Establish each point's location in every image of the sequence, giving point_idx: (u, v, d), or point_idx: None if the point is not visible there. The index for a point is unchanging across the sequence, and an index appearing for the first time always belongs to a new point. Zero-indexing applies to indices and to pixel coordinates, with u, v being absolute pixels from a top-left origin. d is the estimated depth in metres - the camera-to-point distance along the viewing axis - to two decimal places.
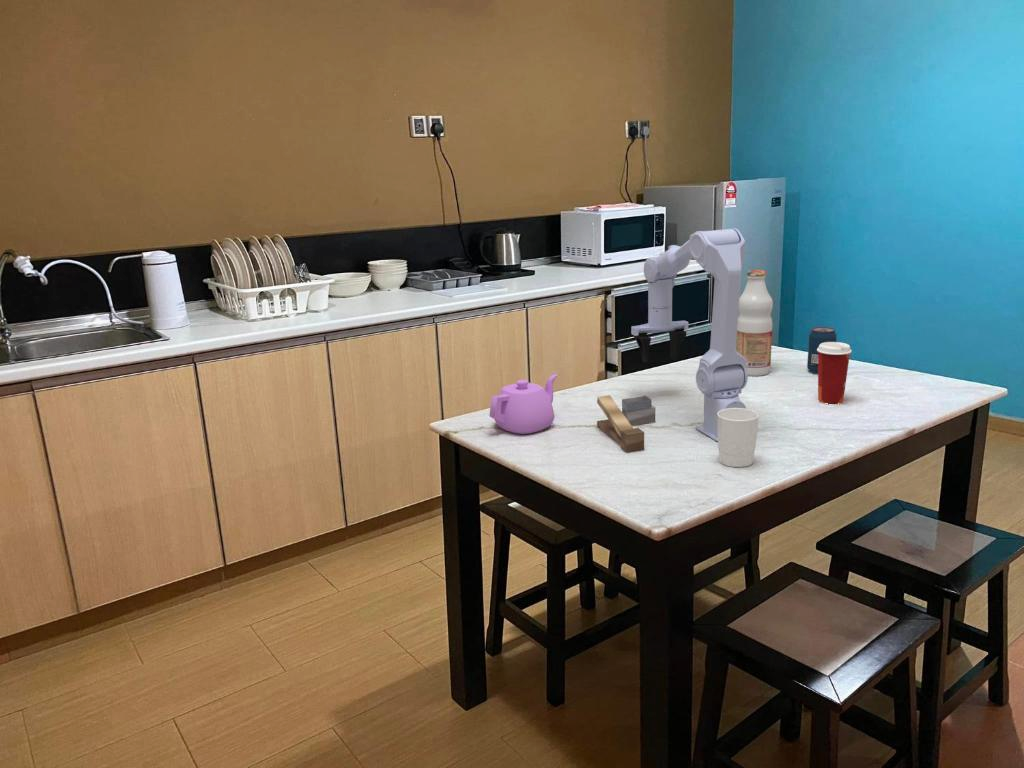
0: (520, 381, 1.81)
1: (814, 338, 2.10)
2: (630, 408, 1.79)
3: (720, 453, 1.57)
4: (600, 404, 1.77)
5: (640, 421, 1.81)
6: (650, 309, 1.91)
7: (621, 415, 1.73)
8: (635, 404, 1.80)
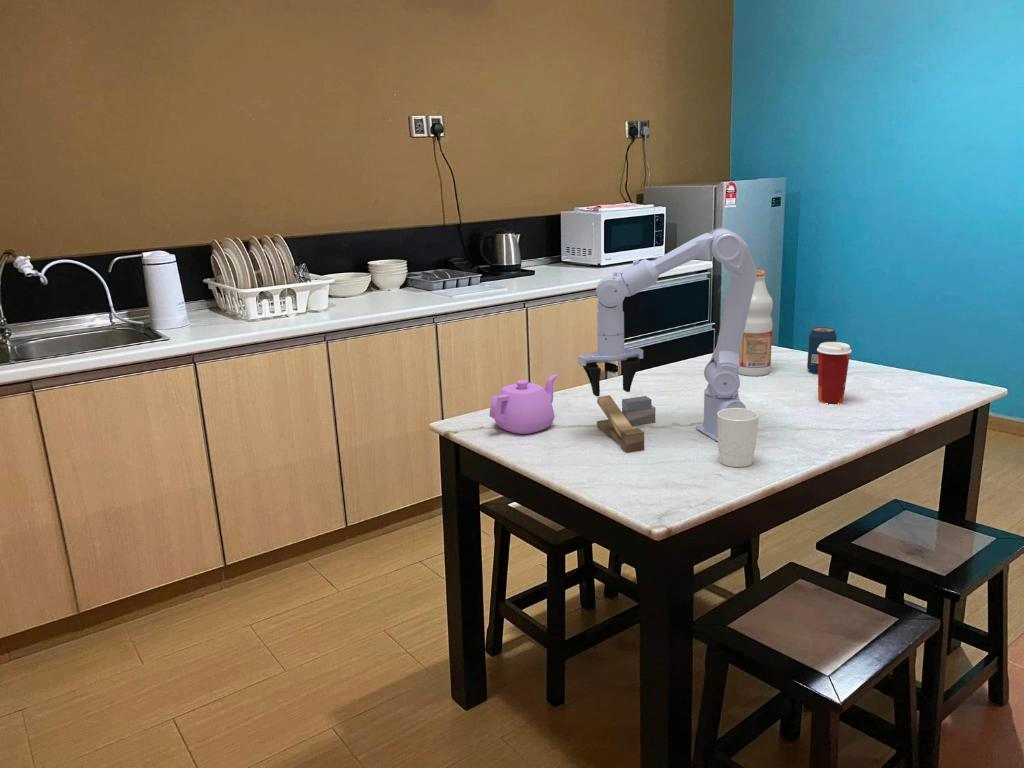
0: (520, 381, 1.81)
1: (814, 338, 2.10)
2: (630, 408, 1.79)
3: (720, 453, 1.57)
4: (600, 404, 1.77)
5: (640, 421, 1.81)
6: (599, 336, 1.69)
7: (621, 415, 1.73)
8: (635, 404, 1.80)
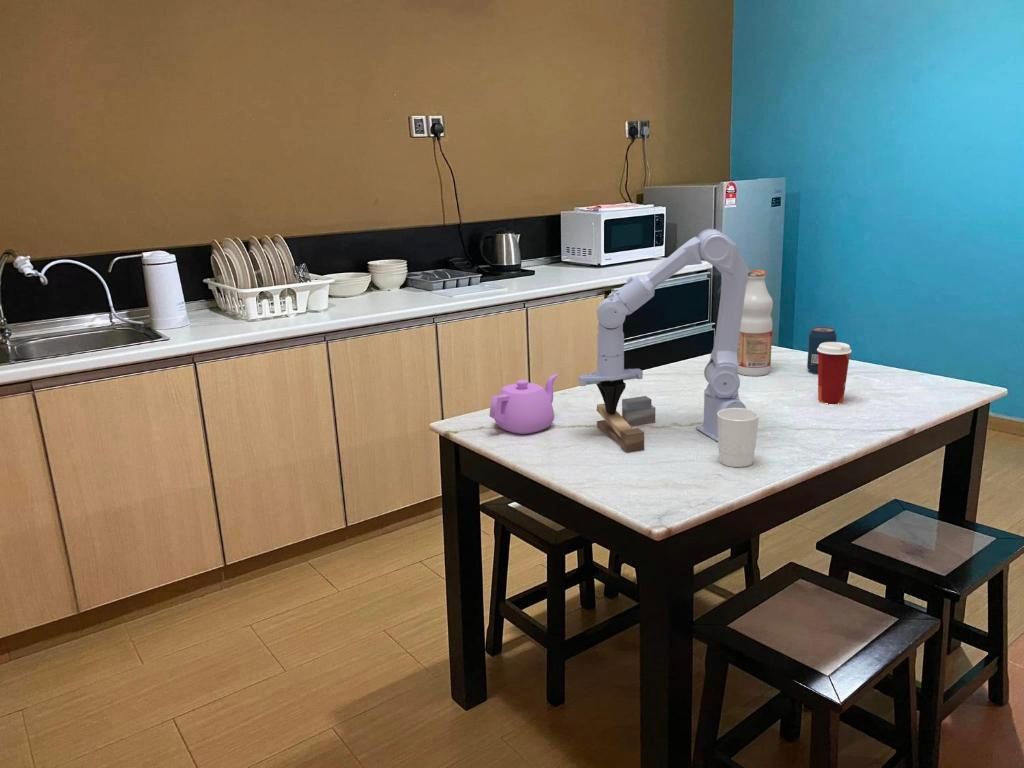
0: (520, 381, 1.81)
1: (814, 338, 2.10)
2: (630, 408, 1.79)
3: (720, 453, 1.57)
4: (600, 411, 1.78)
5: (640, 421, 1.81)
6: (599, 357, 1.71)
7: (621, 418, 1.73)
8: (635, 404, 1.80)
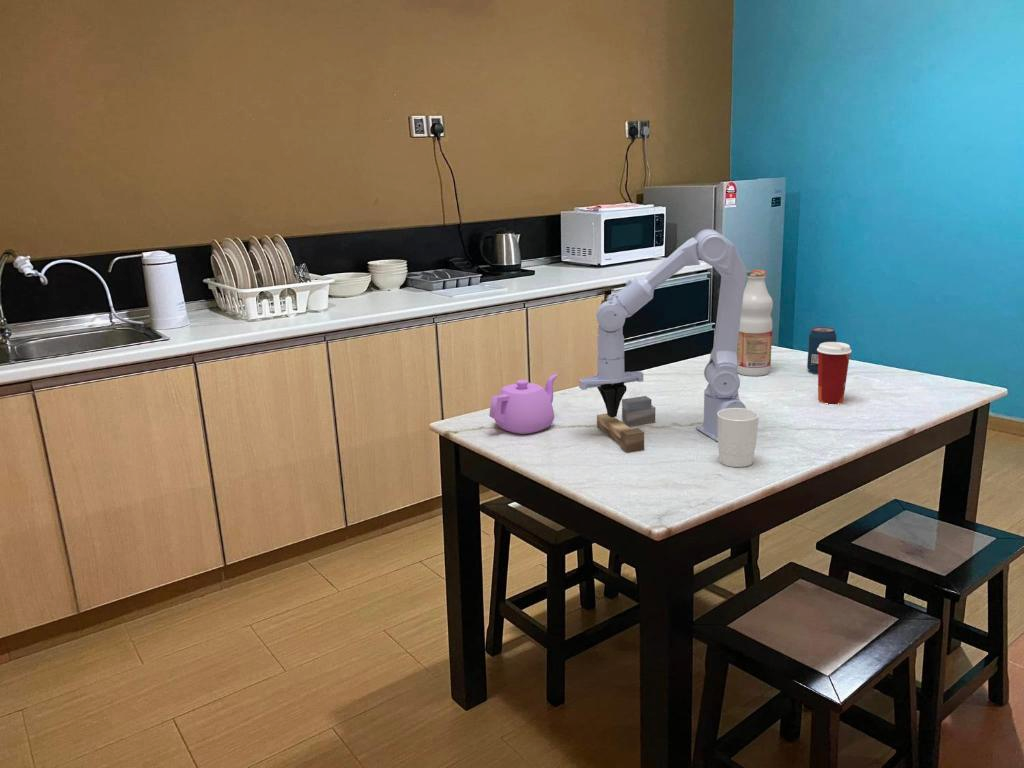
0: (520, 381, 1.81)
1: (814, 338, 2.10)
2: (630, 408, 1.79)
3: (720, 453, 1.57)
4: (600, 420, 1.79)
5: (640, 421, 1.81)
6: (600, 360, 1.71)
7: (621, 423, 1.74)
8: (635, 404, 1.80)
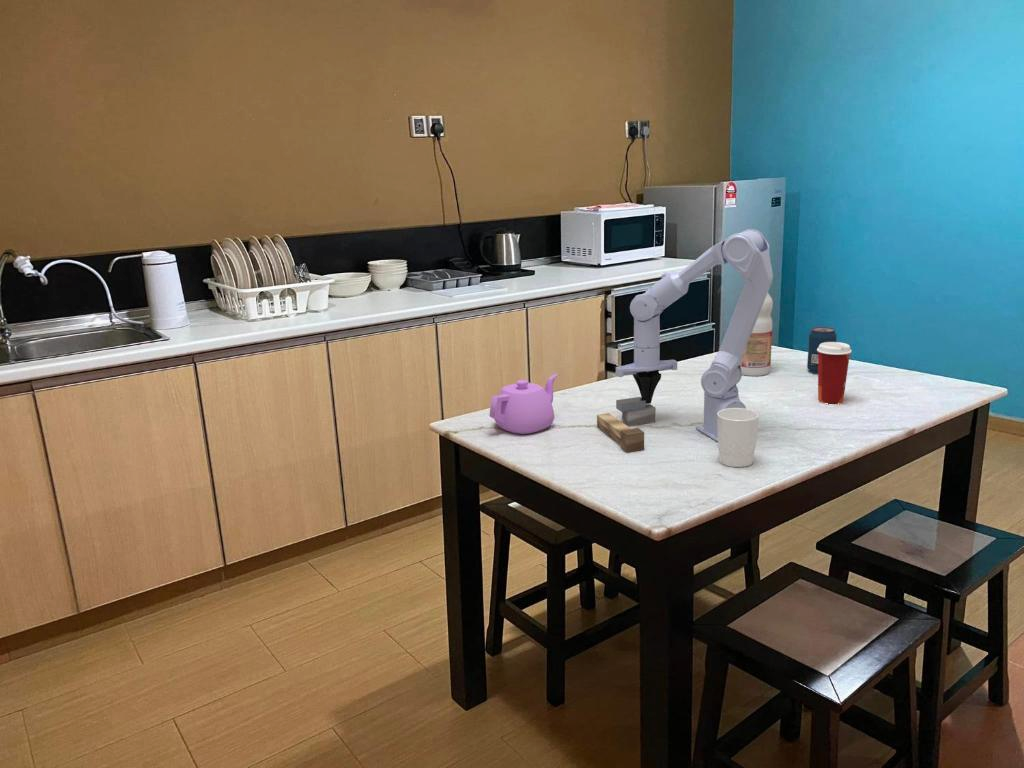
0: (520, 381, 1.81)
1: (814, 338, 2.10)
2: (624, 409, 1.79)
3: (720, 453, 1.57)
4: (600, 420, 1.79)
5: (640, 421, 1.81)
6: (636, 348, 1.77)
7: (621, 423, 1.74)
8: (629, 405, 1.79)
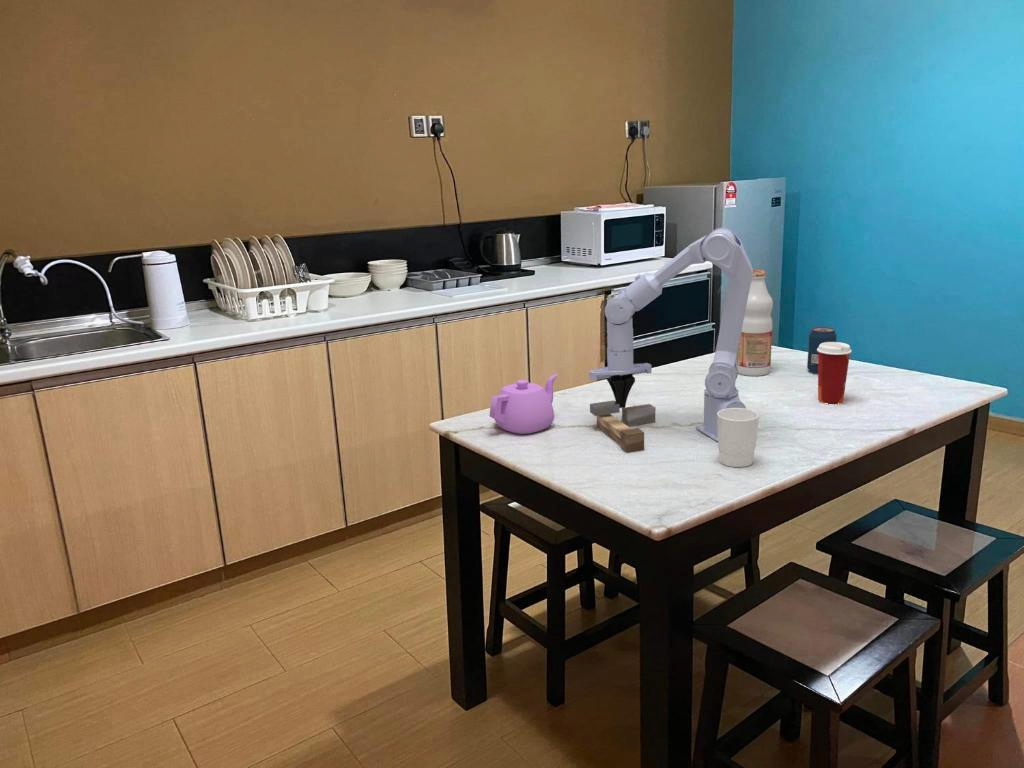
0: (520, 381, 1.81)
1: (814, 338, 2.10)
2: (597, 413, 1.77)
3: (720, 453, 1.57)
4: (600, 420, 1.79)
5: (640, 421, 1.81)
6: (609, 352, 1.75)
7: (621, 423, 1.74)
8: (603, 408, 1.77)
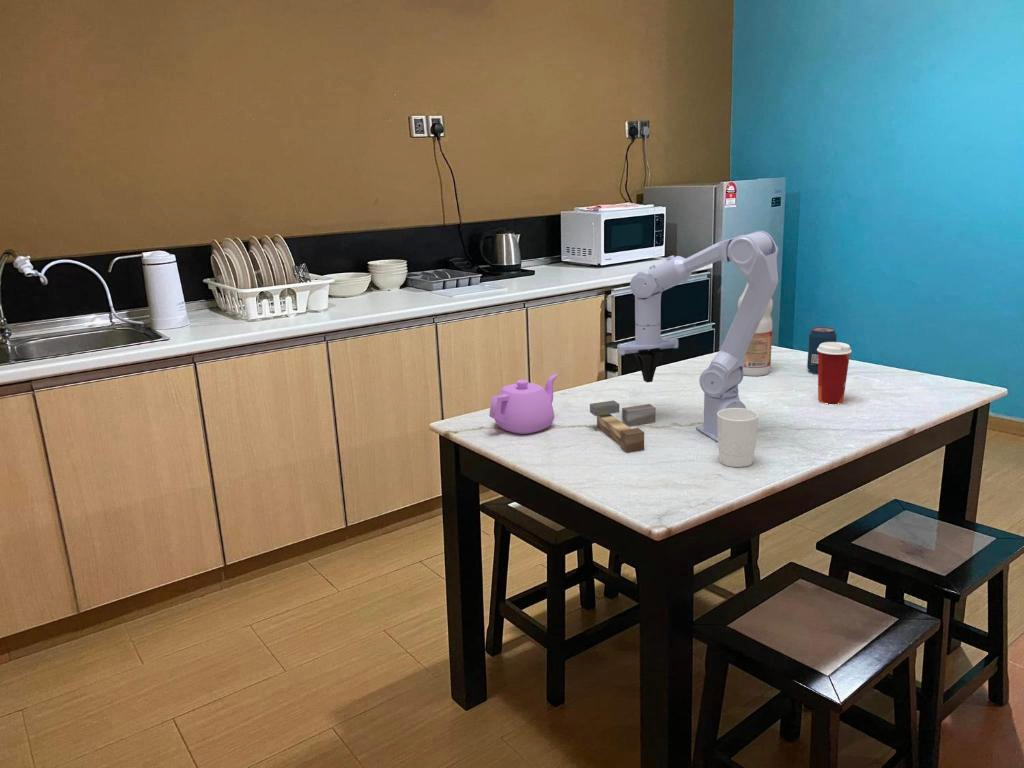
0: (520, 381, 1.81)
1: (814, 338, 2.10)
2: (597, 413, 1.77)
3: (720, 453, 1.57)
4: (600, 420, 1.79)
5: (640, 421, 1.81)
6: (637, 326, 1.78)
7: (621, 423, 1.74)
8: (603, 408, 1.77)
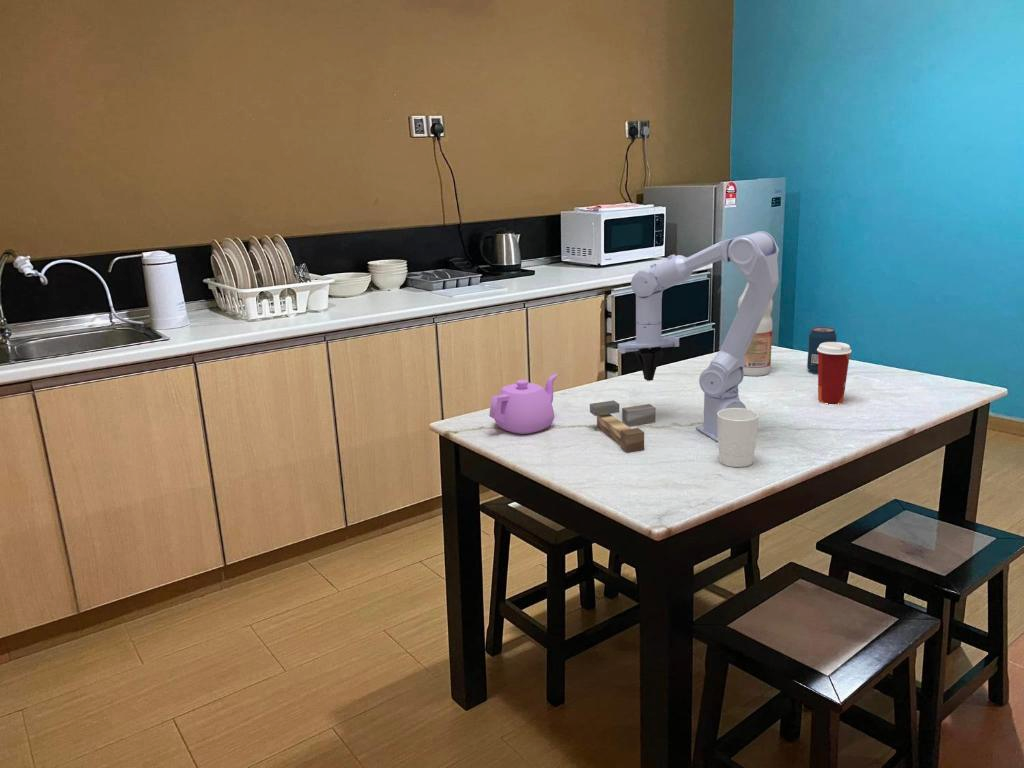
0: (520, 381, 1.81)
1: (814, 338, 2.10)
2: (597, 413, 1.77)
3: (720, 453, 1.57)
4: (600, 420, 1.79)
5: (640, 421, 1.81)
6: (638, 325, 1.78)
7: (621, 423, 1.74)
8: (603, 408, 1.77)
